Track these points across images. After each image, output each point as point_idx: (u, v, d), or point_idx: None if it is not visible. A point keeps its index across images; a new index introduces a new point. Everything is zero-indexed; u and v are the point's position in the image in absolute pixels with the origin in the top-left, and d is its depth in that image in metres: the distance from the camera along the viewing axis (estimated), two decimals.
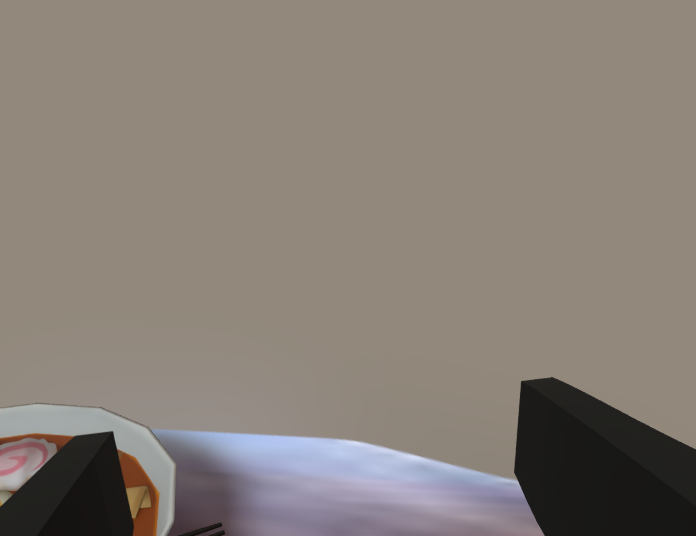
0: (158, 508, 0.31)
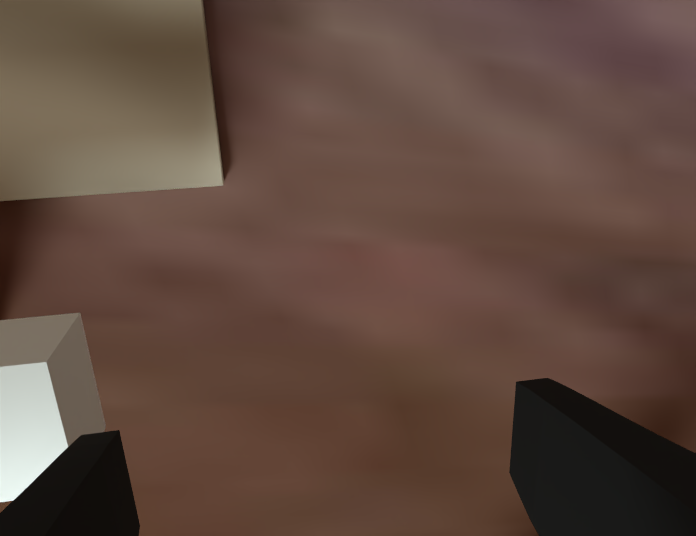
0: None
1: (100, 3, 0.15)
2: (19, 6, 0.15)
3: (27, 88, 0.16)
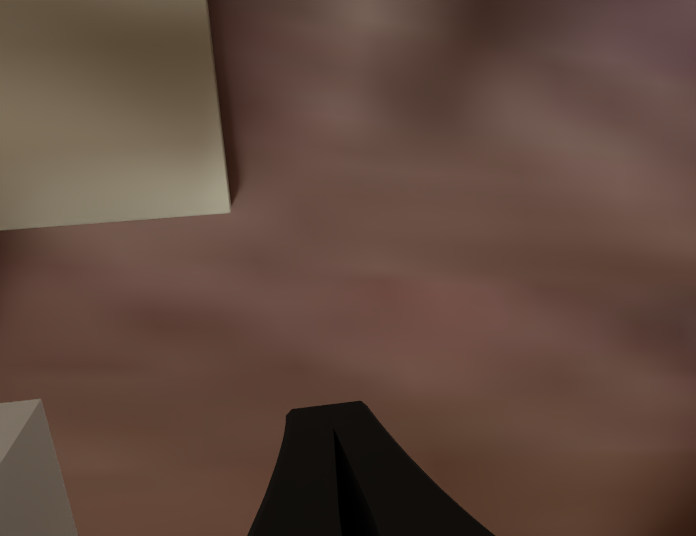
0: None
1: None
2: None
3: None
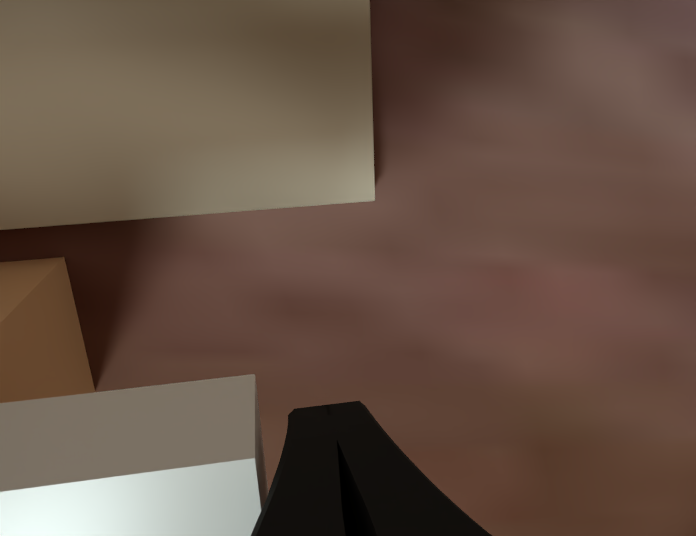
0: None
1: None
2: None
3: (157, 85, 0.13)
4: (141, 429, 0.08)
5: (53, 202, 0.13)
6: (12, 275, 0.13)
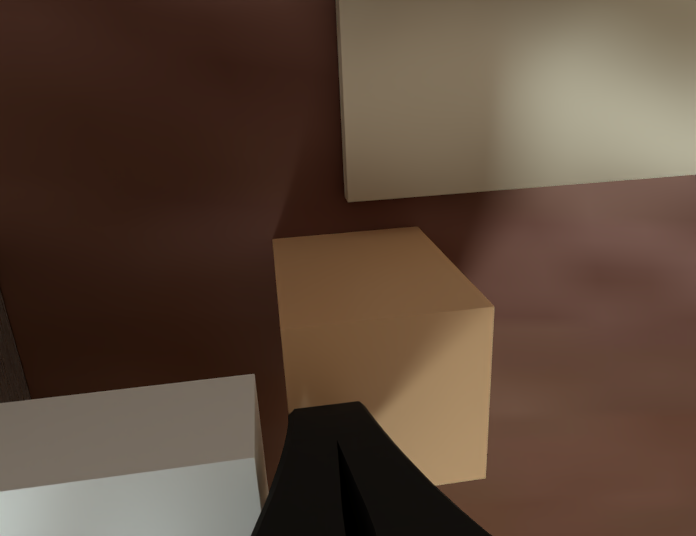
0: None
1: None
2: None
3: (543, 65, 0.14)
4: (141, 428, 0.08)
5: (434, 173, 0.15)
6: (397, 241, 0.15)
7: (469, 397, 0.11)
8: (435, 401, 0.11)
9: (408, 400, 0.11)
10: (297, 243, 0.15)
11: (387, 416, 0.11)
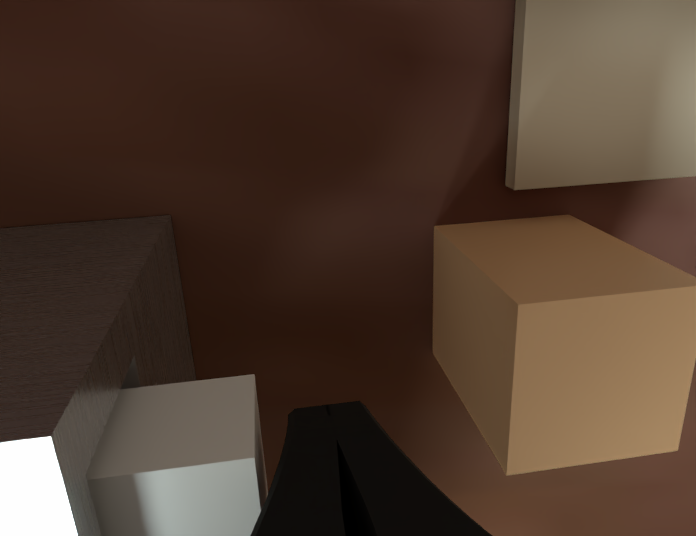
0: None
1: None
2: None
3: None
4: (141, 428, 0.08)
5: (596, 163, 0.15)
6: (561, 227, 0.15)
7: (675, 372, 0.12)
8: (644, 375, 0.12)
9: (621, 374, 0.12)
10: (463, 229, 0.15)
11: (599, 389, 0.12)
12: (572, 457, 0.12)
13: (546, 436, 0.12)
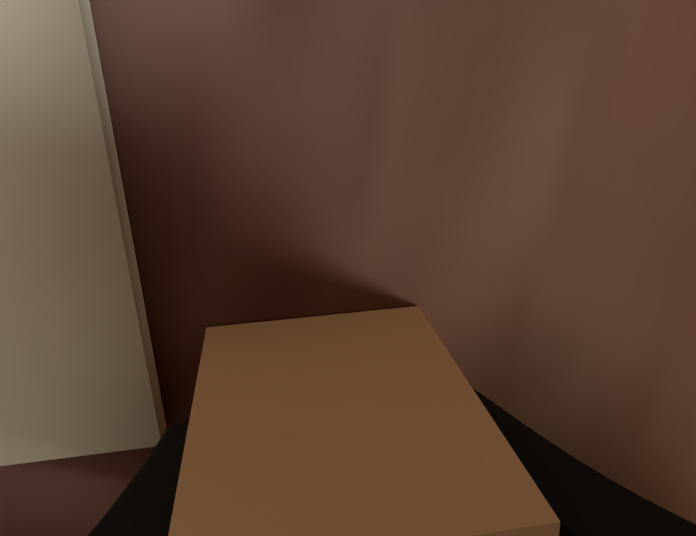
0: None
1: None
2: None
3: None
4: None
5: (106, 338, 0.10)
6: None
7: None
8: None
9: None
10: None
11: None
12: None
13: None
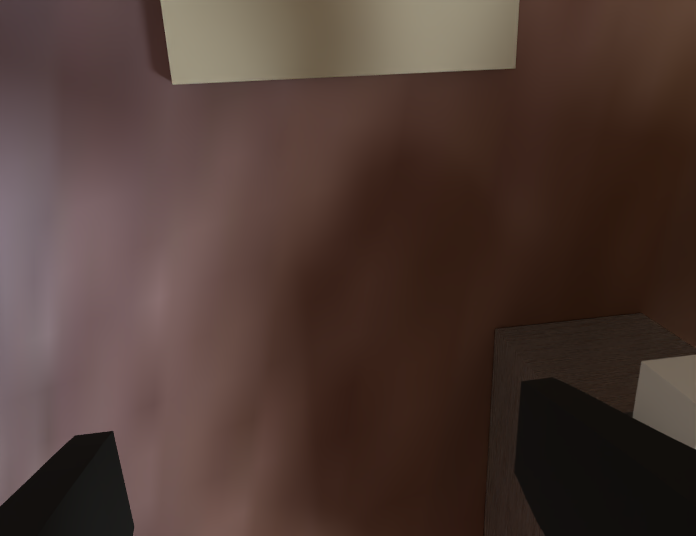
0: None
1: None
2: None
3: None
4: None
5: None
6: None
7: None
8: None
9: None
10: None
11: None
12: None
13: None
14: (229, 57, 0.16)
